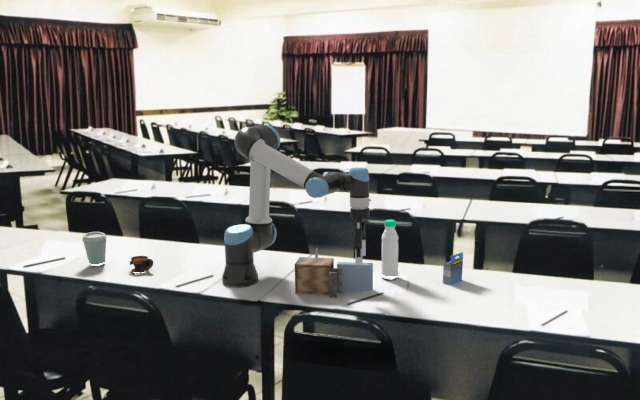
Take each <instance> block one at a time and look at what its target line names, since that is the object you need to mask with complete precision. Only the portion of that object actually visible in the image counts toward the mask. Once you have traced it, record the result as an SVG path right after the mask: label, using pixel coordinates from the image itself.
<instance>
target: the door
mask: <svg viewBox="0 0 640 400" xmlns="http://www.w3.org/2000/svg"><path fill="white" fill-rule="evenodd" d="M336 268H339V292H340V291H341V292H363V291H372V290H374V264H373V262H363V265H355V262H353V261H352V262H348V261H347V262H345V261H337V263H336ZM372 292H373V291H372Z"/></svg>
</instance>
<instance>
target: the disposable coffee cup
mask: <svg viewBox="0 0 640 400" xmlns="http://www.w3.org/2000/svg"><path fill="white" fill-rule="evenodd" d="M82 242H83V246H84V249H85V253H86V256H87V260H88V263H91V264H99V263H103V262H106V251H107V250H106V249H107V235H106V233H104V232H101V231H91V232H86V233H84V234H83V236H82Z"/></svg>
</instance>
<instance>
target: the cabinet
mask: <svg viewBox="0 0 640 400" xmlns="http://www.w3.org/2000/svg"><path fill="white" fill-rule="evenodd" d="M334 261H335V260H334V258H333V257H318V258H315V257H309V256H308V257H305V256H304V257H300V256H299V257H298V259H297V260H296V262H295V263H294V289H295V291H294V292H295V294H299V295H300V294H301V295H302V294H305V295H325V296H327V295H328V298H335V299H337V298H338V294H339V293H340V291H339V268H337V267H334V266H335V263H334Z"/></svg>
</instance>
